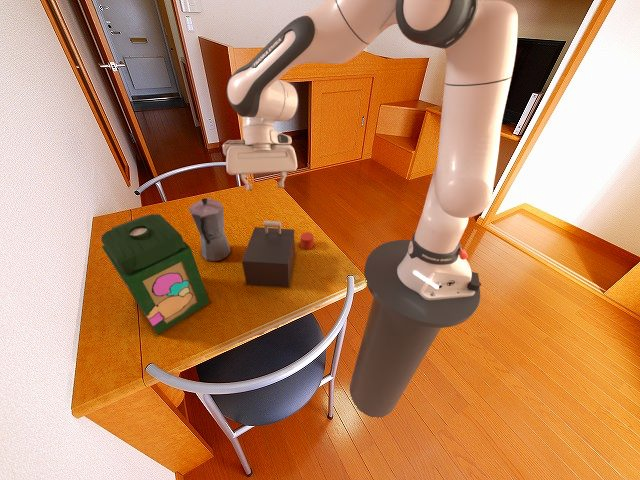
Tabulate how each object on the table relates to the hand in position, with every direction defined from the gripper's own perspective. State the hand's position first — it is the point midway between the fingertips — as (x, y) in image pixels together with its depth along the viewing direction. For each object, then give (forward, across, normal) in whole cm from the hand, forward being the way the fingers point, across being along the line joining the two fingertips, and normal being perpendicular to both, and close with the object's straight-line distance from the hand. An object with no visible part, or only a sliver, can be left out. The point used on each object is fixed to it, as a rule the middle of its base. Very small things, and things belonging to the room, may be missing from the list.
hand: (265, 189), depth 80 cm
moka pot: (+19, -15, +14) cm, 28 cm away
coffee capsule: (+20, +14, +7) cm, 25 cm away
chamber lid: (+17, -1, -2) cm, 17 cm away
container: (+28, -28, +2) cm, 40 cm away
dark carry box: (+24, 0, +2) cm, 25 cm away
